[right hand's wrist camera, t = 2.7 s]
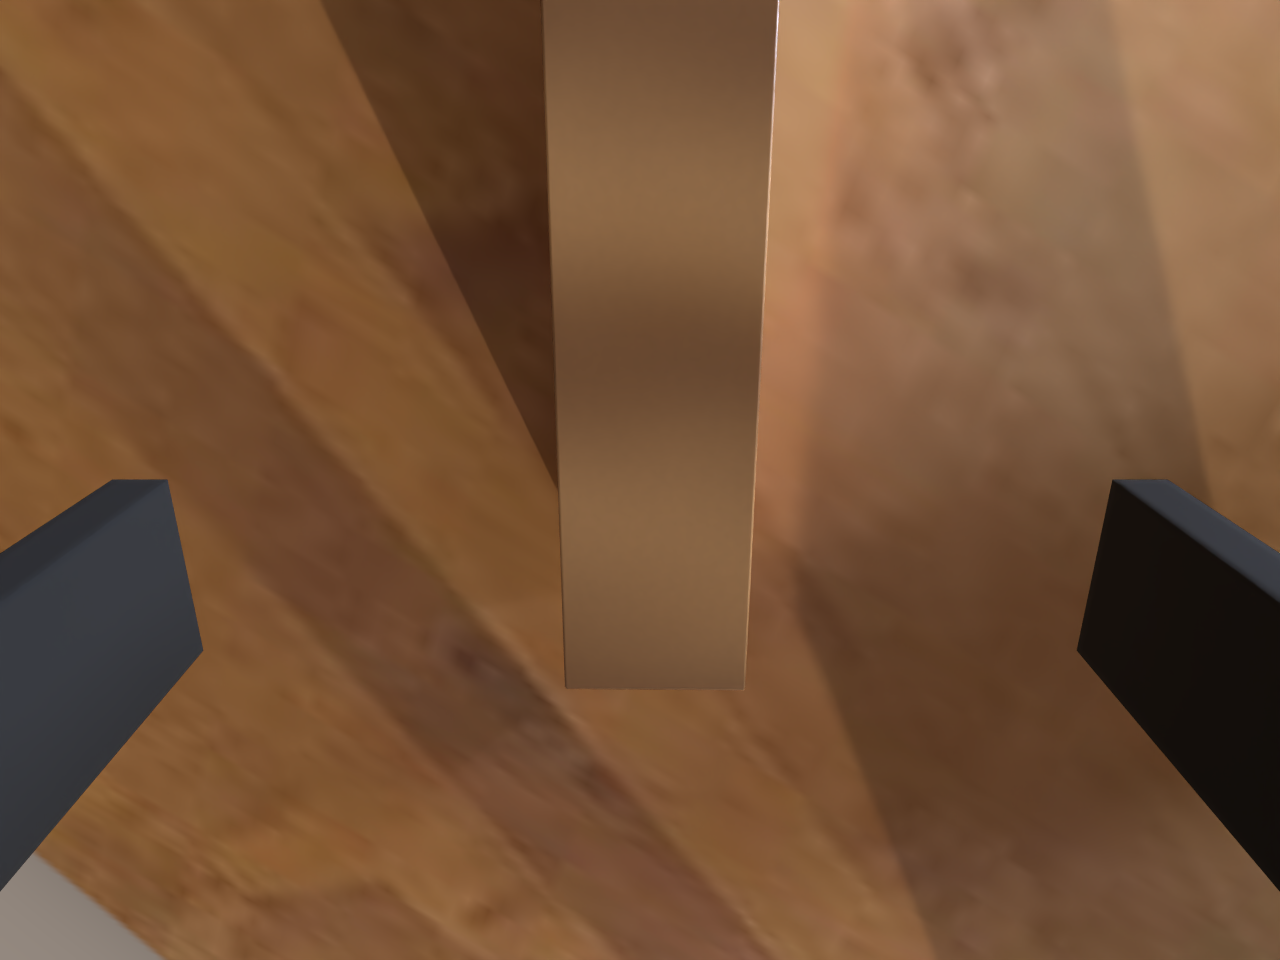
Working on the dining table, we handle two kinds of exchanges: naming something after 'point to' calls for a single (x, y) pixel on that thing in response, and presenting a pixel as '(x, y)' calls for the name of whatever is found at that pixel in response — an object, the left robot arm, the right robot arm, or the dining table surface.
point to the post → (657, 328)
